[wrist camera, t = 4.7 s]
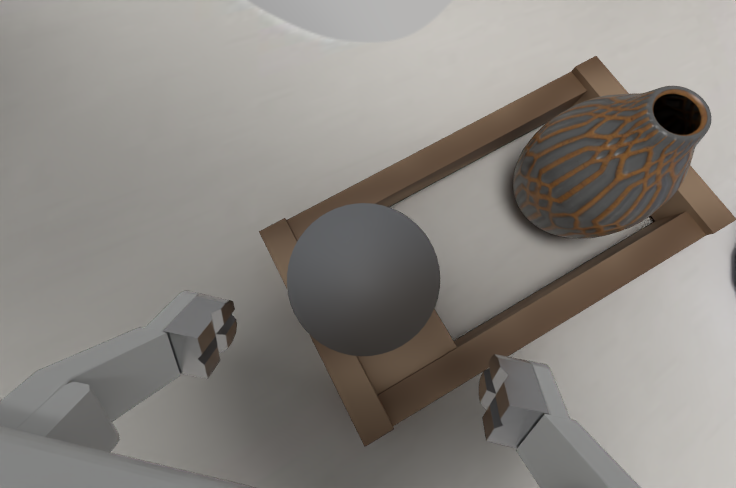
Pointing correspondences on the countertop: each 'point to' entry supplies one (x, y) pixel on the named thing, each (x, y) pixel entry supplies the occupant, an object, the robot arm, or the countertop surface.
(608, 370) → the countertop surface
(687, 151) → the vase
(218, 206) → the countertop surface
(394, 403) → the strip frame
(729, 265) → the countertop surface
